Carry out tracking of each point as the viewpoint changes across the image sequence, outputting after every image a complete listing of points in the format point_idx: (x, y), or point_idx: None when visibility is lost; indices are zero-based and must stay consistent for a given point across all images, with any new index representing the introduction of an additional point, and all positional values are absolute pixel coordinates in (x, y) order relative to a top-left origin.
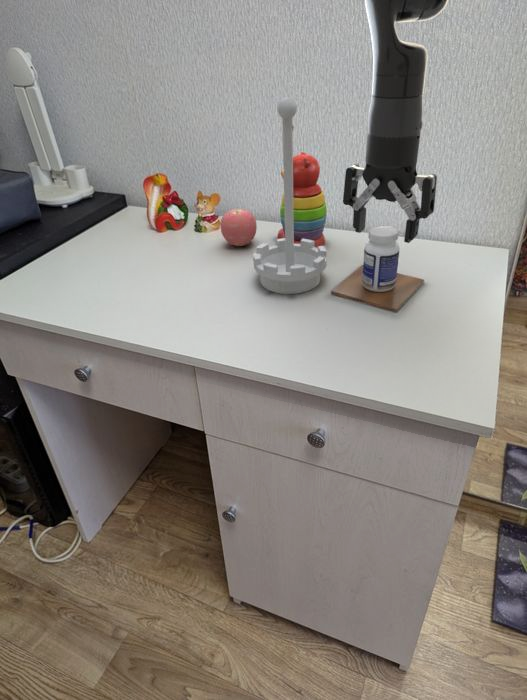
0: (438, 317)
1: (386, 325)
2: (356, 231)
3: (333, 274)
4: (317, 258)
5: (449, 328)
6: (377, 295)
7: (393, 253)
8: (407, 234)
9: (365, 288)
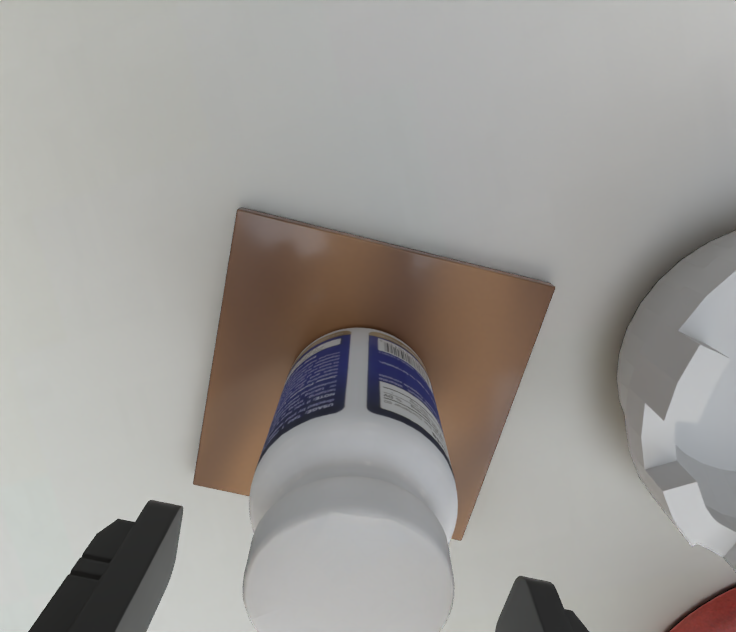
0: (70, 222)
1: (254, 81)
2: (544, 581)
3: (567, 449)
4: (706, 396)
5: (3, 144)
6: (344, 304)
7: (268, 451)
8: (138, 542)
9: None
